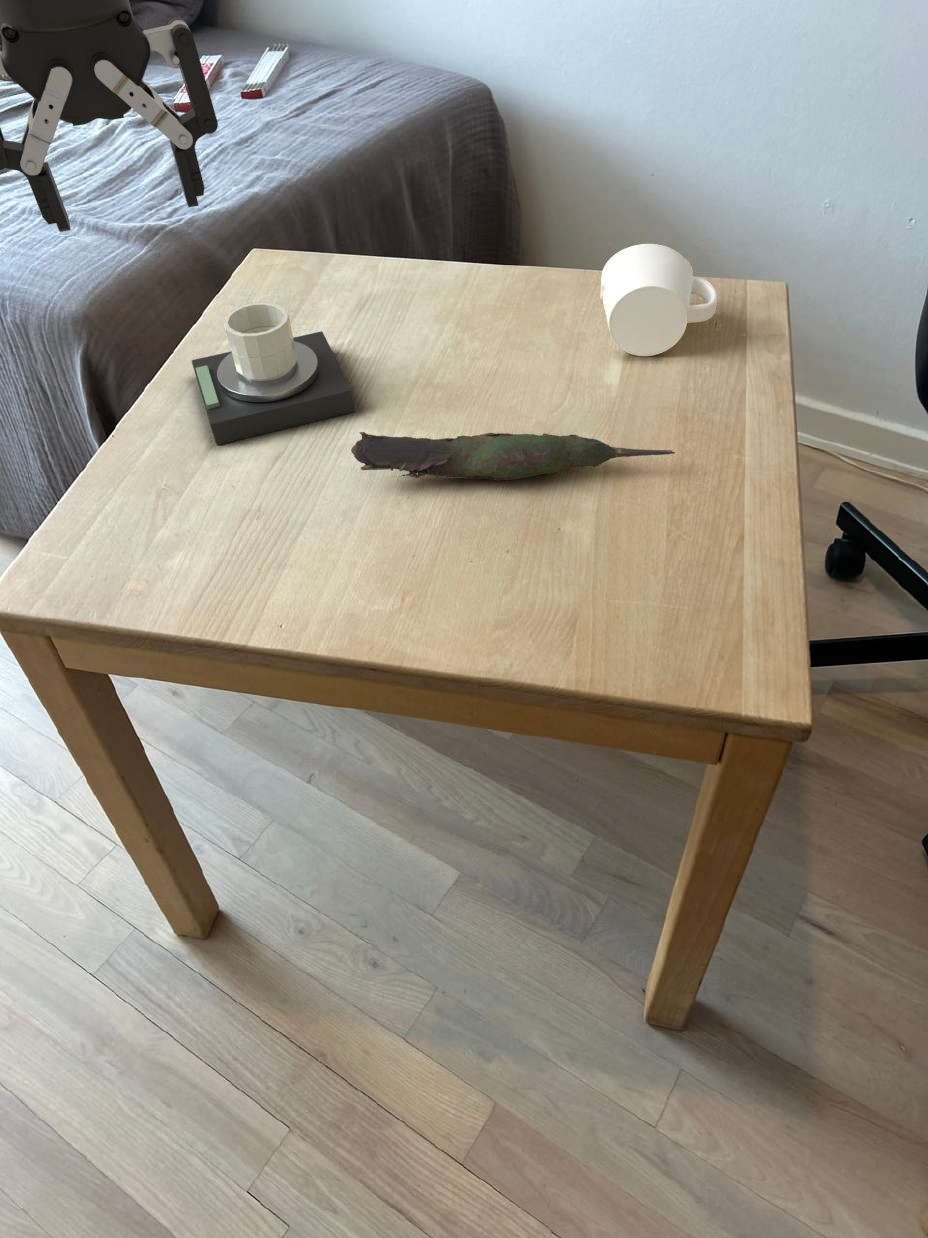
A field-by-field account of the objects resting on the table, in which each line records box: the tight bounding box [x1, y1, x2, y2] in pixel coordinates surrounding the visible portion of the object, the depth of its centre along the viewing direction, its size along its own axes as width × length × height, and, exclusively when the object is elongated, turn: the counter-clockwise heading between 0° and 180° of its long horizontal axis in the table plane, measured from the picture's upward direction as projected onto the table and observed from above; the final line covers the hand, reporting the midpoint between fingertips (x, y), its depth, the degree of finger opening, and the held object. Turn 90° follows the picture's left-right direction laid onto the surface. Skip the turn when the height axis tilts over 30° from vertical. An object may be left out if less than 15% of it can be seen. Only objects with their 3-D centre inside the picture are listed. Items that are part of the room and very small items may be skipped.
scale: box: [191, 331, 356, 446], centre depth 89 cm, size 14×12×3 cm
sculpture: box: [350, 431, 676, 482], centre depth 79 cm, size 5×29×5 cm, turn 91°
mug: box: [599, 243, 719, 357], centre depth 92 cm, size 12×9×8 cm
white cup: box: [223, 301, 297, 381], centre depth 86 cm, size 6×6×5 cm
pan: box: [217, 341, 319, 402], centre depth 88 cm, size 10×10×1 cm
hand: (129, 214), depth 60 cm, fingers open, 8 cm apart
